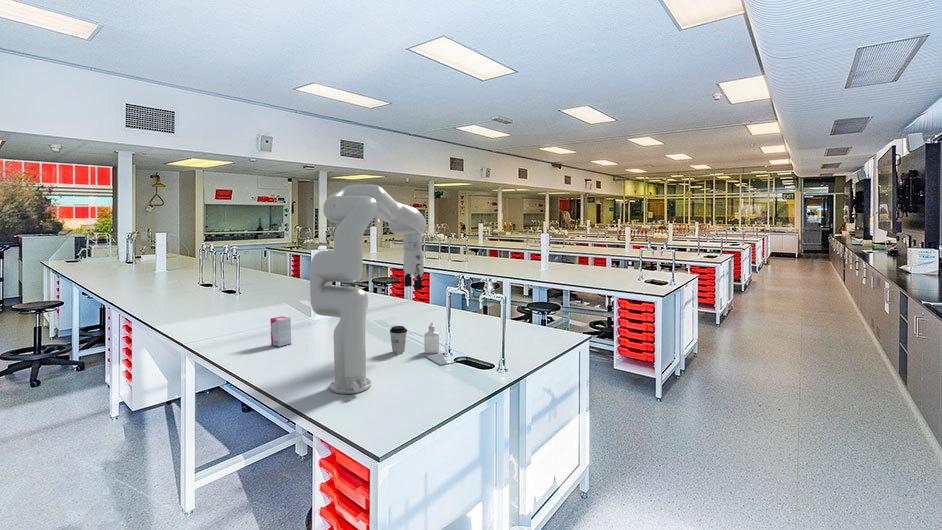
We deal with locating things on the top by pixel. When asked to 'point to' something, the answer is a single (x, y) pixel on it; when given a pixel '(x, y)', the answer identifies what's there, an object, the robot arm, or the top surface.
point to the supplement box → (280, 331)
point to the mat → (437, 358)
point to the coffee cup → (398, 338)
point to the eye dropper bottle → (431, 340)
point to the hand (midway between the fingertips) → (412, 288)
